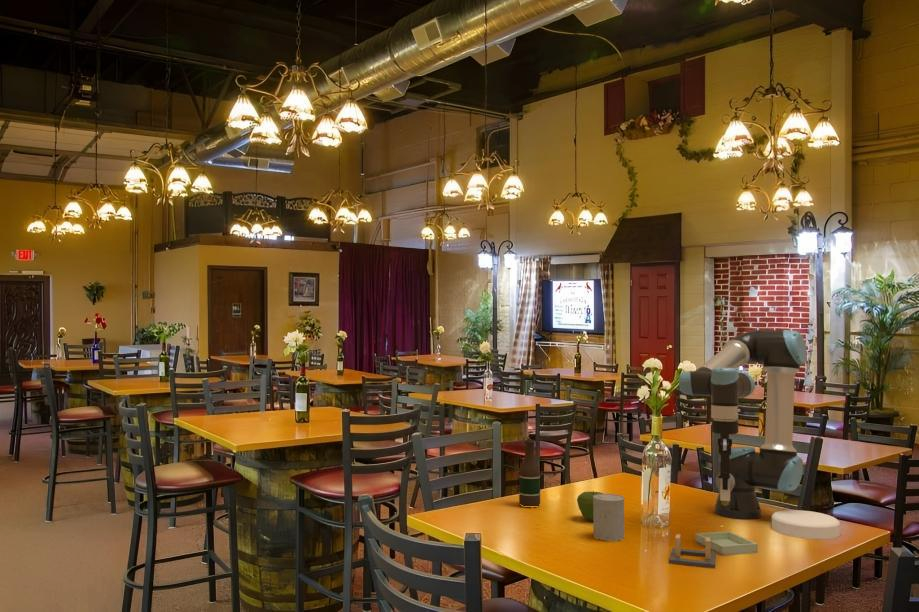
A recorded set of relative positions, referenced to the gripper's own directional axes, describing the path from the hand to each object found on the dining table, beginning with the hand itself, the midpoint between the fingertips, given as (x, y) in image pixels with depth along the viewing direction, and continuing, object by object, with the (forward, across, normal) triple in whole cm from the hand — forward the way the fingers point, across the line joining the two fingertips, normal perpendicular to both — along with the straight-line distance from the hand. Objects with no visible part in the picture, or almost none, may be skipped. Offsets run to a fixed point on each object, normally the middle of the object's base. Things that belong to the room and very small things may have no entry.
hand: (725, 498), depth 217 cm
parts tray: (+14, 0, 0) cm, 14 cm away
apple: (+15, +17, +42) cm, 48 cm away
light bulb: (+3, 0, 0) cm, 3 cm away
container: (+15, +29, -24) cm, 40 cm away
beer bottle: (+15, +29, +67) cm, 75 cm away
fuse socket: (+15, -16, +8) cm, 23 cm away
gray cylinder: (+15, -2, +34) cm, 37 cm away
